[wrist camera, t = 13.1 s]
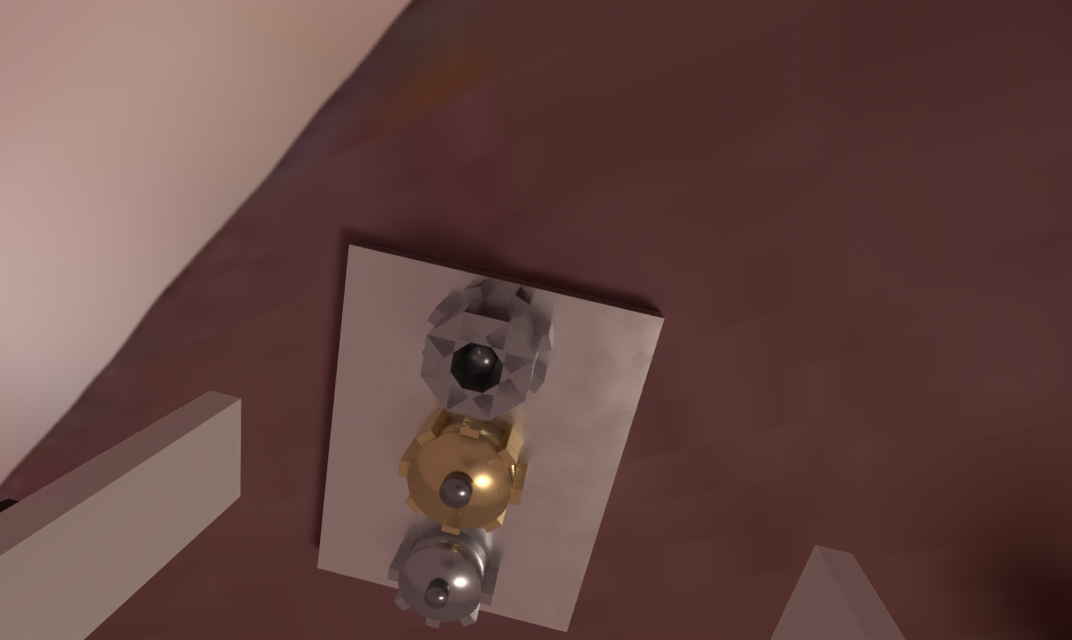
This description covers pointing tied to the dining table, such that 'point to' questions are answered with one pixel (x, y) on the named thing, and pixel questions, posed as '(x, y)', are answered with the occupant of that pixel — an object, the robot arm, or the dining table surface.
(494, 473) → the carrier
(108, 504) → the robot arm
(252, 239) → the dining table surface
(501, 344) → the gear
